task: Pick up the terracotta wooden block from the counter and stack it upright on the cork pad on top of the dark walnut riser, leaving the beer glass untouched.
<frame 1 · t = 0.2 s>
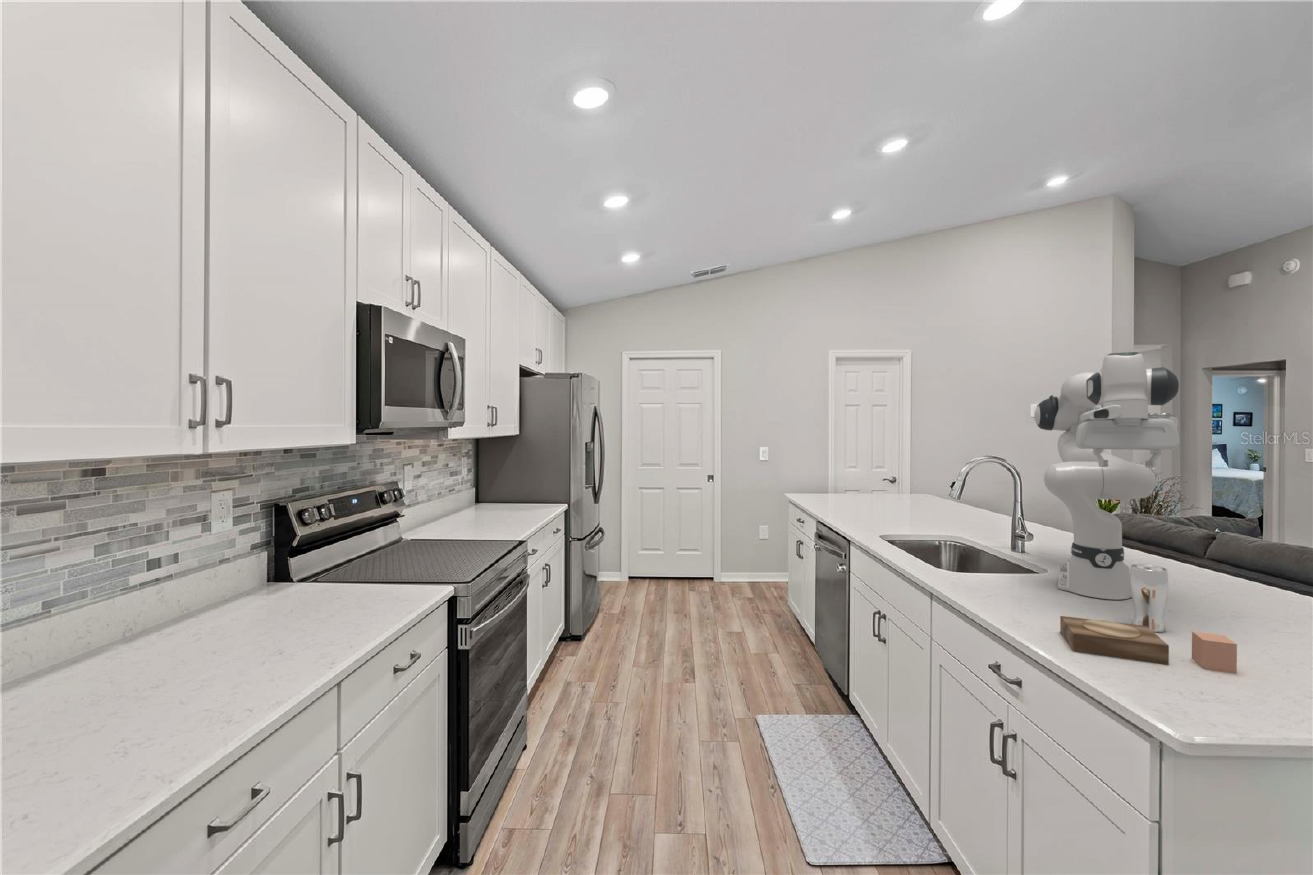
hand: (1126, 467, 136), 39 cm above the table, tool pointing down, fingers open, 8 cm apart
beer glass: (1148, 628, 131), on the table
walnut riser: (1110, 647, 120), on the table
terracotta block: (1213, 666, 110), on the table
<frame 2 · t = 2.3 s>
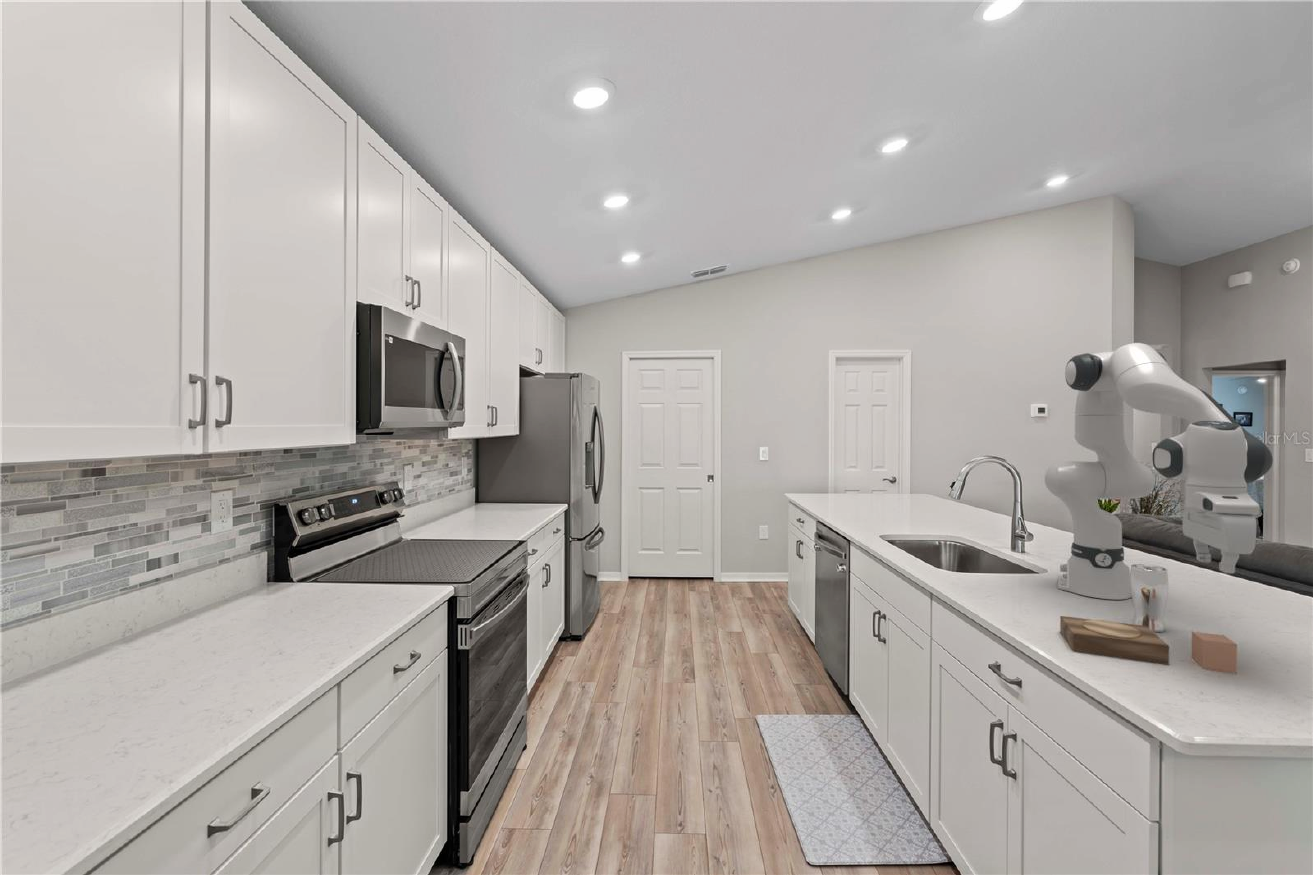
hand: (1214, 566, 110), 21 cm above the table, tool pointing down, fingers open, 8 cm apart
nothing on the table moved.
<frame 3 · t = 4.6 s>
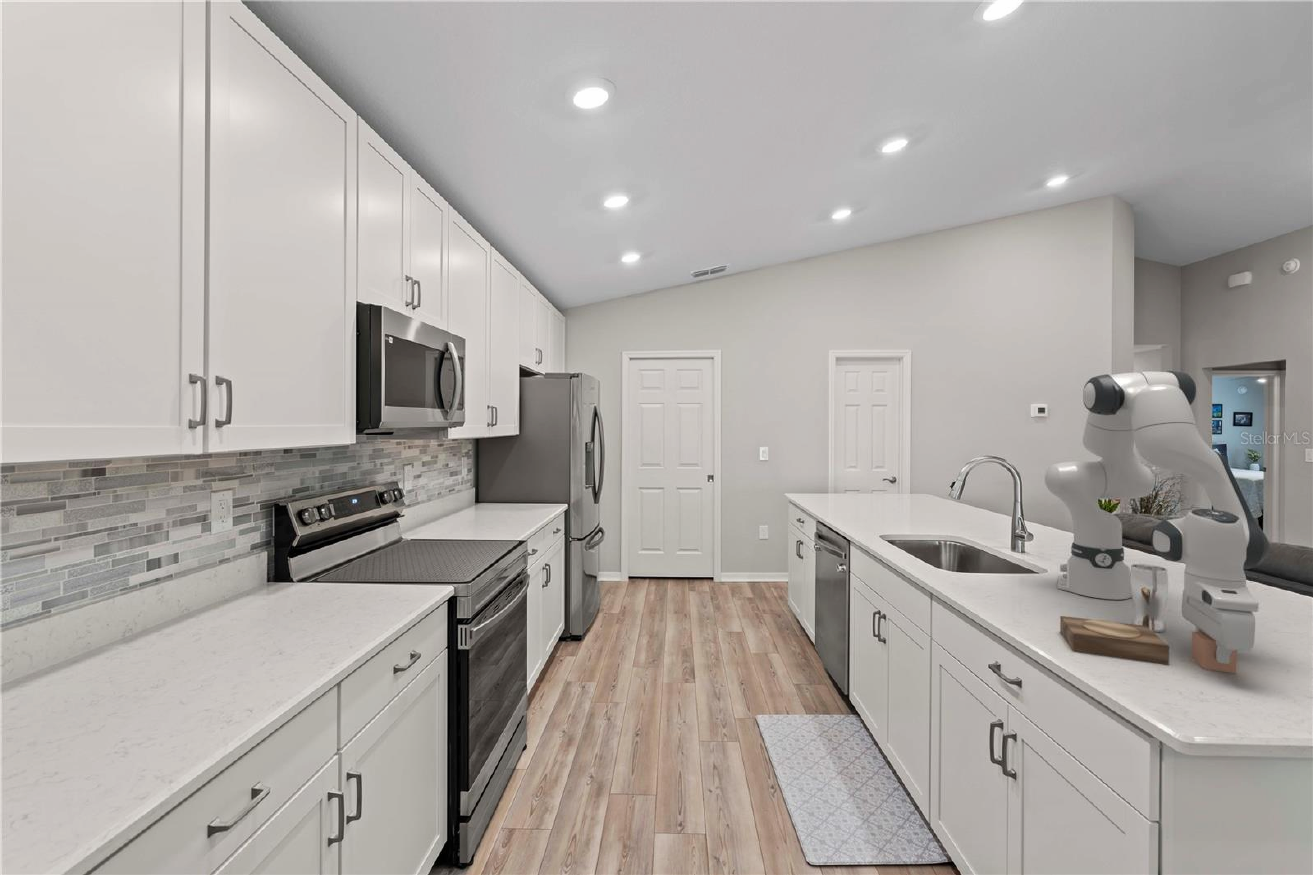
hand: (1213, 655, 110), 2 cm above the table, tool pointing down, fingers closed on terracotta block, 5 cm apart
terracotta block: (1213, 666, 110), on the table, touching gripper
everything else where it was.
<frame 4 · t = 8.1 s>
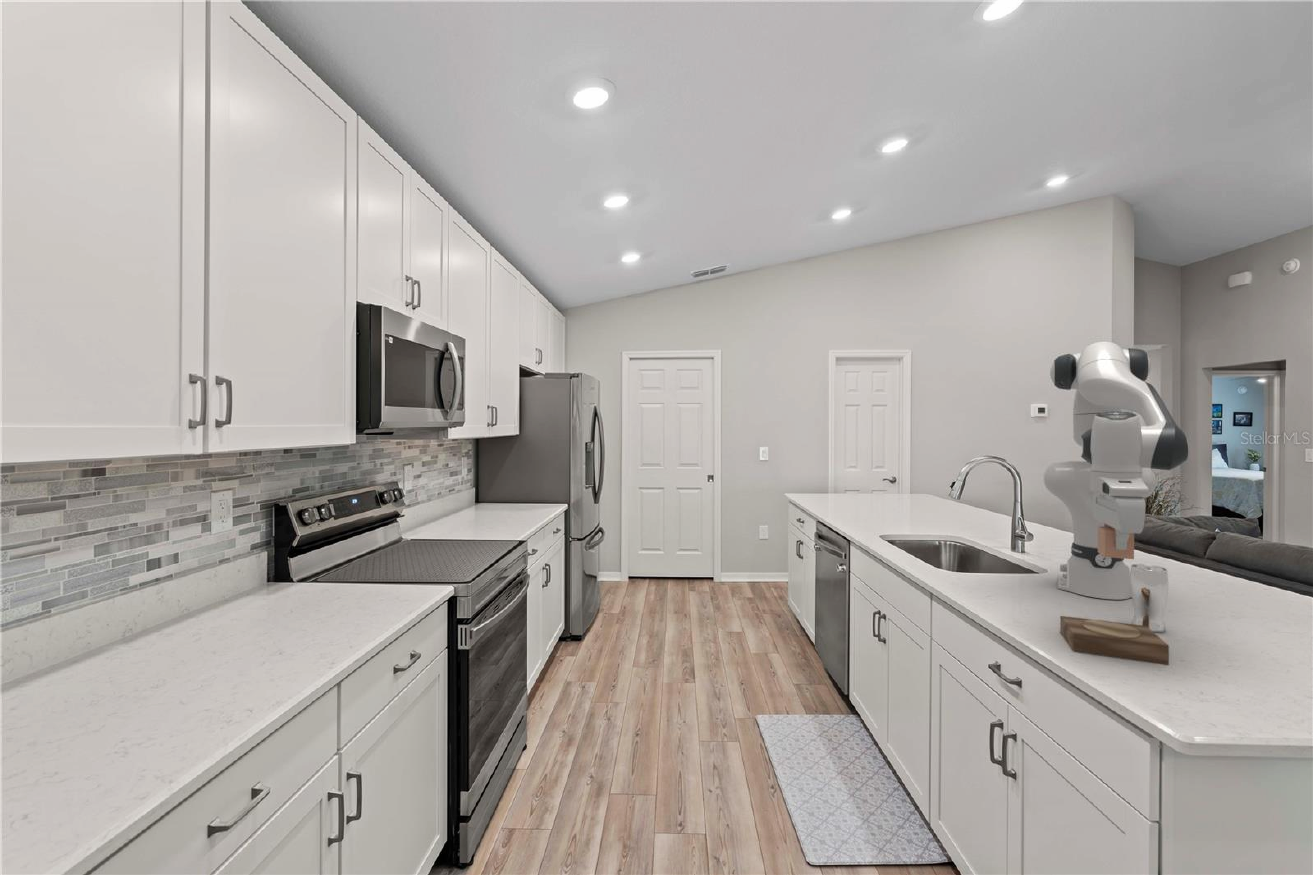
hand: (1115, 546, 119), 23 cm above the table, tool pointing down, fingers closed on terracotta block, 5 cm apart
terracotta block: (1115, 555, 119), point 21 cm above the table, touching gripper
everything else where it was.
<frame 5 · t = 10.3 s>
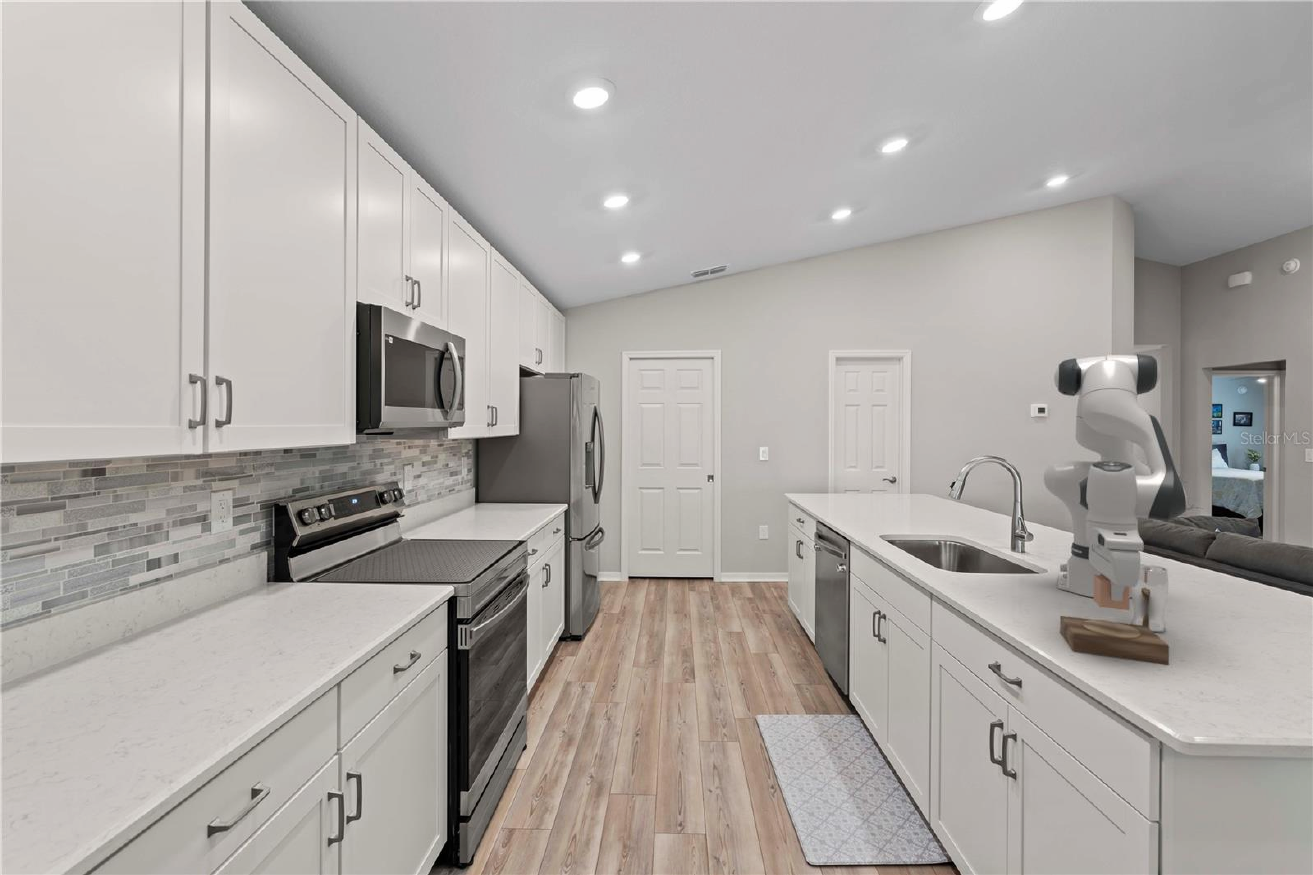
hand: (1111, 595, 120), 12 cm above the table, tool pointing down, fingers closed on terracotta block, 5 cm apart
terracotta block: (1110, 605, 120), point 10 cm above the table, touching gripper
everything else where it was.
when the fingers open (7 cm above the table, at t = 12.0 s): terracotta block stays where it is, resting on walnut riser.
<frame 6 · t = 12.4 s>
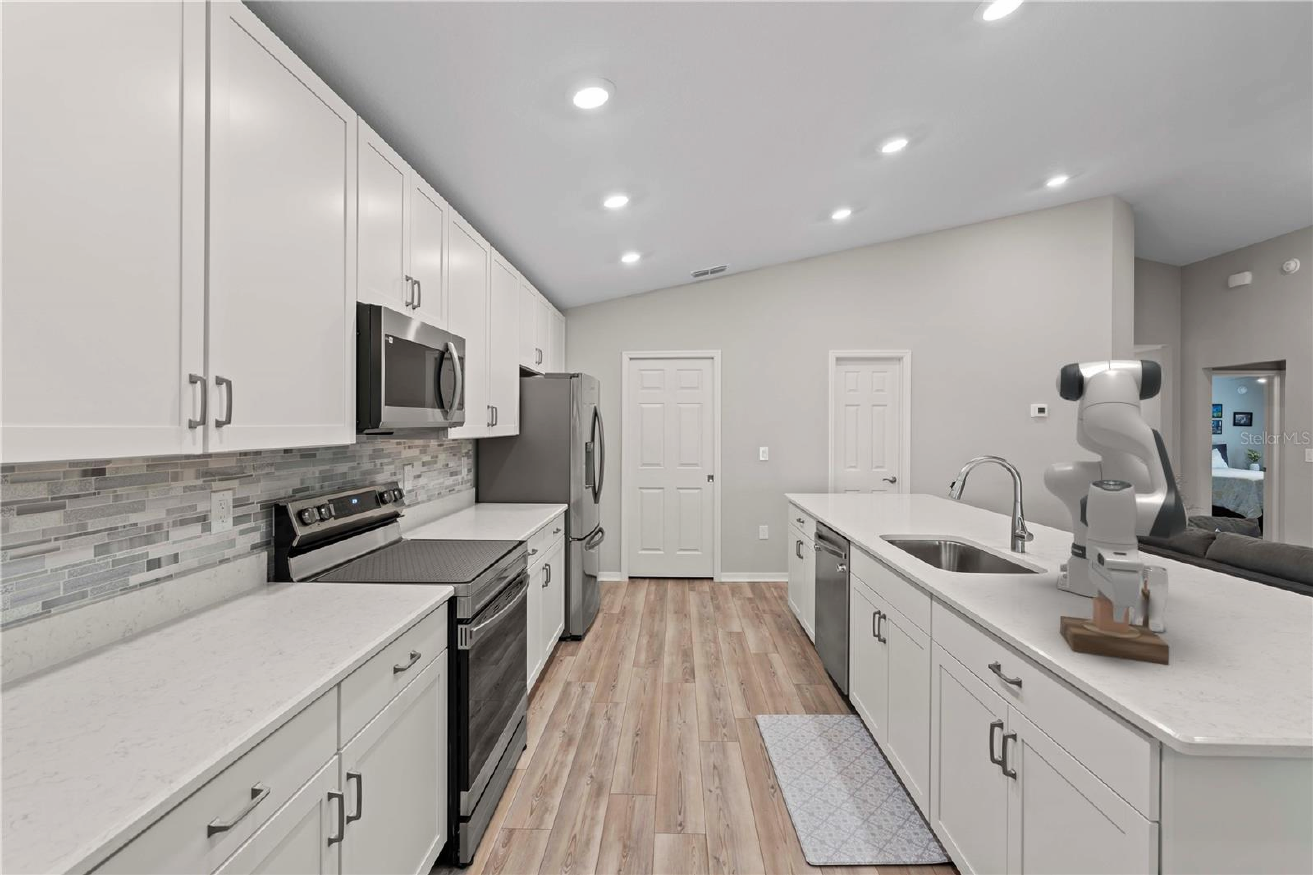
hand: (1110, 614, 120), 7 cm above the table, tool pointing down, fingers open, 8 cm apart
terracotta block: (1110, 627, 120), point 4 cm above the table, touching walnut riser
everything else where it was.
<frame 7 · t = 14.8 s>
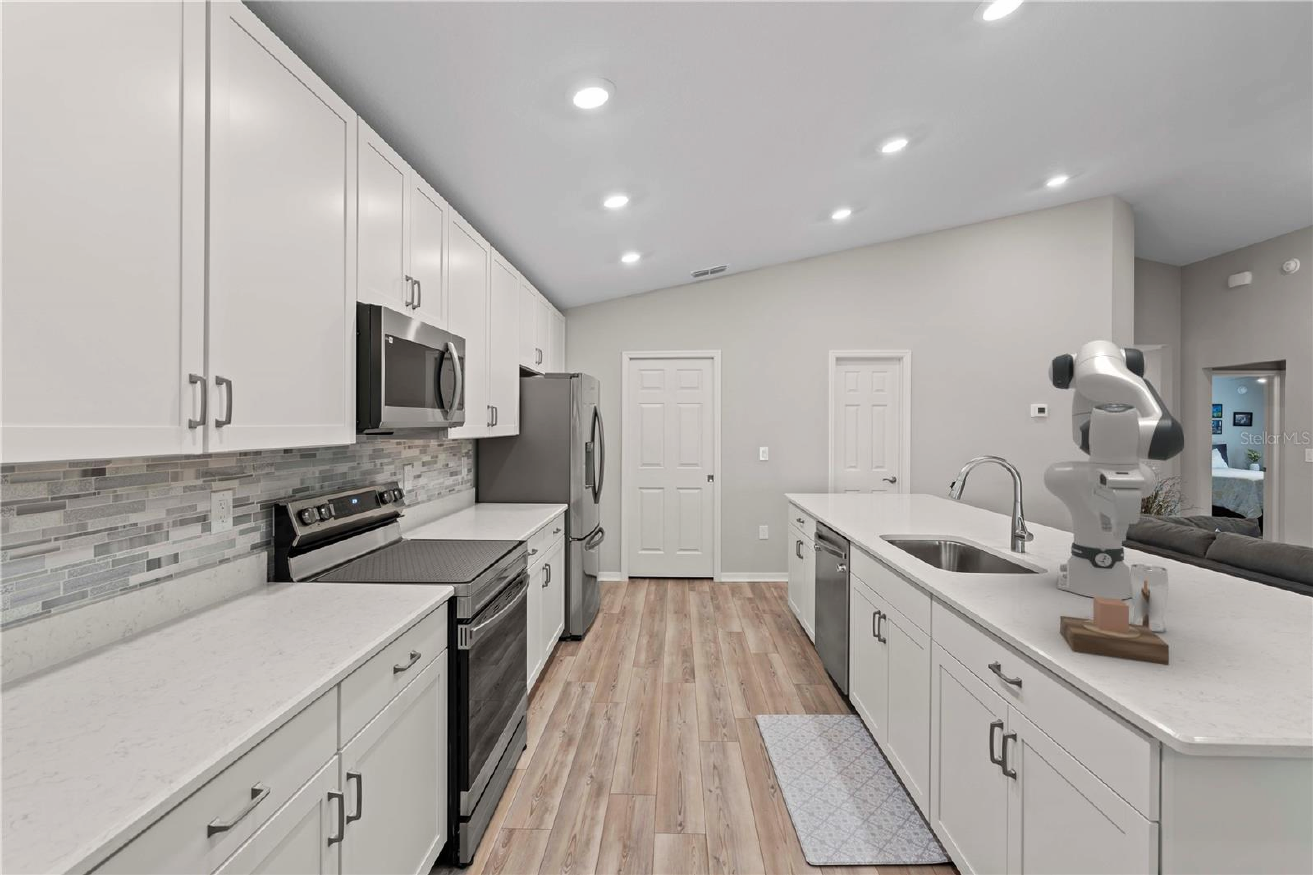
hand: (1112, 535, 122), 25 cm above the table, tool pointing down, fingers open, 8 cm apart
nothing on the table moved.
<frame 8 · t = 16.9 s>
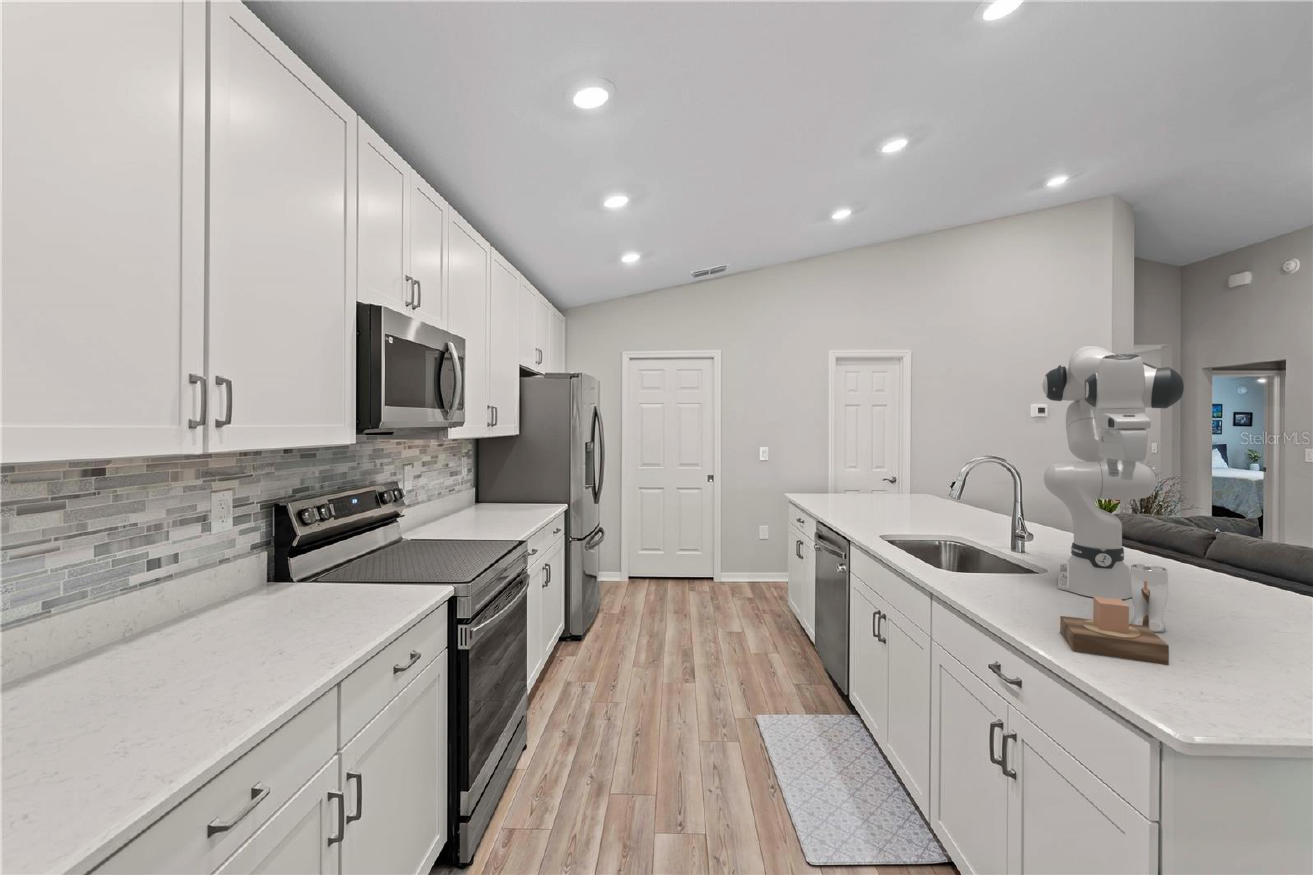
hand: (1119, 478, 129), 37 cm above the table, tool pointing down, fingers open, 8 cm apart
nothing on the table moved.
at the end: terracotta block inside the target area on the walnut riser (0.1 cm from its centre), point 4.4 cm above the walnut riser's base; terracotta block tilted 0°; the gripper is holding nothing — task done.
